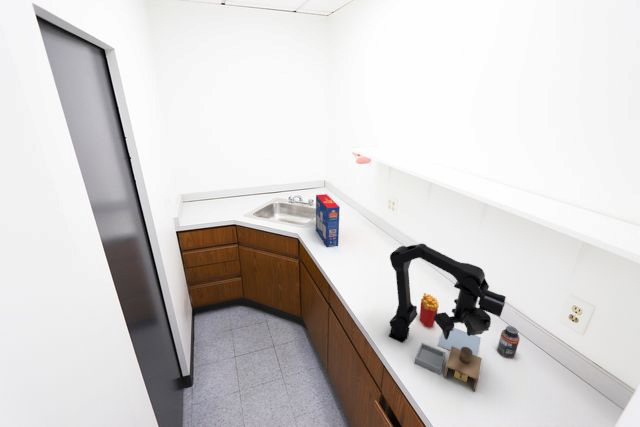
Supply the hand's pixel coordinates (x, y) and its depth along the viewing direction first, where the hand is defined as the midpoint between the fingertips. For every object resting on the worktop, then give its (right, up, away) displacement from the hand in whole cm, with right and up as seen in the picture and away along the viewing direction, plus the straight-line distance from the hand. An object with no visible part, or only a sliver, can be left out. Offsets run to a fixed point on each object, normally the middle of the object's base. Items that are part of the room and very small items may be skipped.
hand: (457, 337), depth 105 cm
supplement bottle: (+23, -10, +9) cm, 27 cm away
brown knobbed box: (+1, -13, 0) cm, 13 cm away
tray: (-8, -11, +5) cm, 15 cm away
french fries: (-2, -4, +24) cm, 25 cm away
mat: (+7, -8, +14) cm, 18 cm away
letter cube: (+1, -13, 0) cm, 14 cm away
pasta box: (-45, +27, +103) cm, 116 cm away
